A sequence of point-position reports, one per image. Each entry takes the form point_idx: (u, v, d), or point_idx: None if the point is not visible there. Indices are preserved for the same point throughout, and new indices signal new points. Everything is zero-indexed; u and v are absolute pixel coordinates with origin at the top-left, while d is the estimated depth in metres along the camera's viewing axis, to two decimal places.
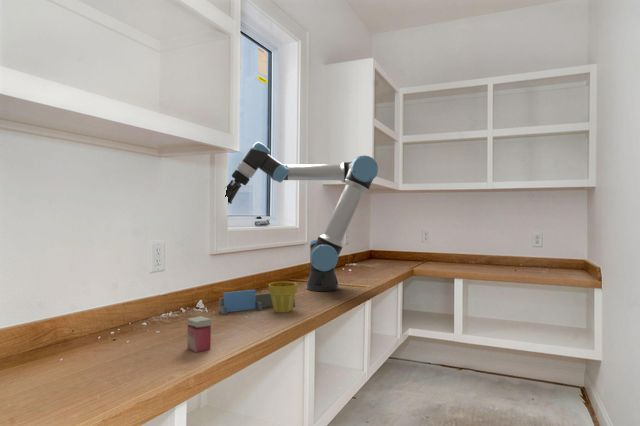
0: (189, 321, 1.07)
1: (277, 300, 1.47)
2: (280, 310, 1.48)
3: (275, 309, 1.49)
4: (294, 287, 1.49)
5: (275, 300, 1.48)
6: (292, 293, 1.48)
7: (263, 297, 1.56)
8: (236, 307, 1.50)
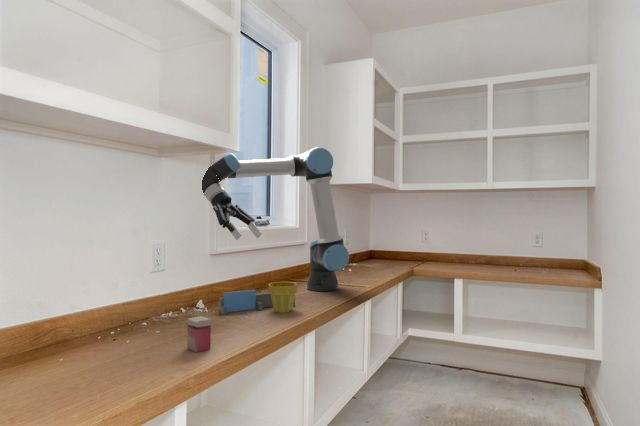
0: (189, 321, 1.07)
1: (277, 300, 1.47)
2: (280, 310, 1.48)
3: (275, 309, 1.49)
4: (294, 287, 1.49)
5: (275, 300, 1.48)
6: (292, 293, 1.48)
7: (263, 297, 1.56)
8: (236, 307, 1.50)
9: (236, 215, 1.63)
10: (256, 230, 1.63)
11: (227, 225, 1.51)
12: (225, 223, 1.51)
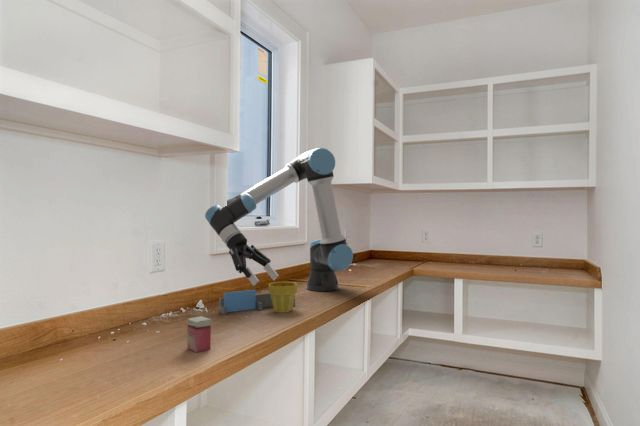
0: (189, 321, 1.07)
1: (277, 300, 1.47)
2: (280, 310, 1.48)
3: (275, 309, 1.49)
4: (294, 287, 1.49)
5: (275, 300, 1.48)
6: (292, 293, 1.48)
7: (263, 297, 1.56)
8: (236, 307, 1.50)
9: (252, 257, 1.59)
10: (272, 272, 1.59)
11: (244, 271, 1.47)
12: (242, 269, 1.47)
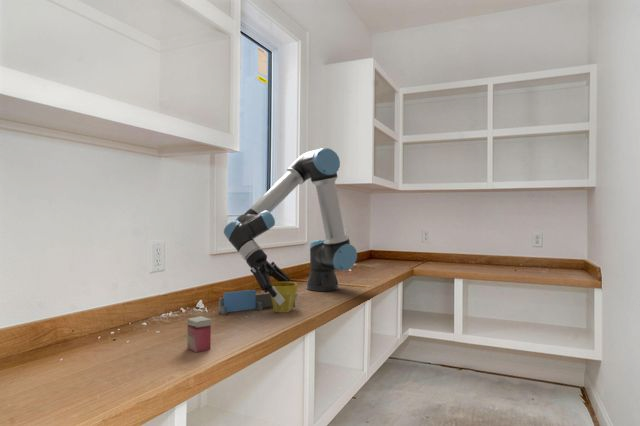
0: (189, 321, 1.07)
1: None
2: (280, 310, 1.48)
3: (275, 309, 1.49)
4: (294, 287, 1.49)
5: None
6: (292, 293, 1.48)
7: (263, 297, 1.56)
8: (236, 307, 1.50)
9: (272, 274, 1.56)
10: None
11: (269, 290, 1.45)
12: (267, 288, 1.45)
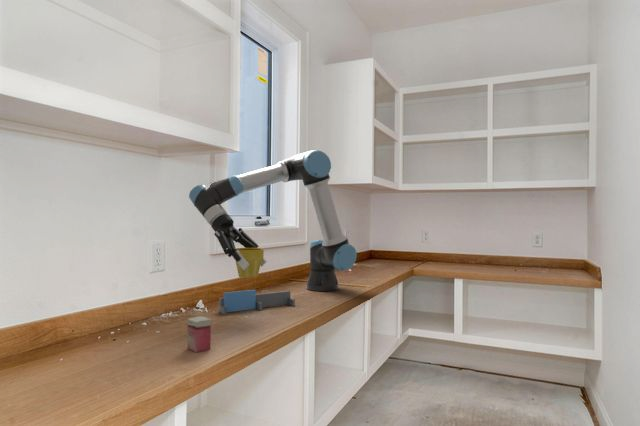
0: (189, 321, 1.07)
1: None
2: (245, 275, 1.41)
3: (240, 275, 1.42)
4: (260, 252, 1.42)
5: (239, 265, 1.41)
6: (257, 258, 1.41)
7: (263, 297, 1.56)
8: (236, 307, 1.50)
9: (238, 240, 1.49)
10: None
11: (233, 254, 1.39)
12: (231, 252, 1.38)
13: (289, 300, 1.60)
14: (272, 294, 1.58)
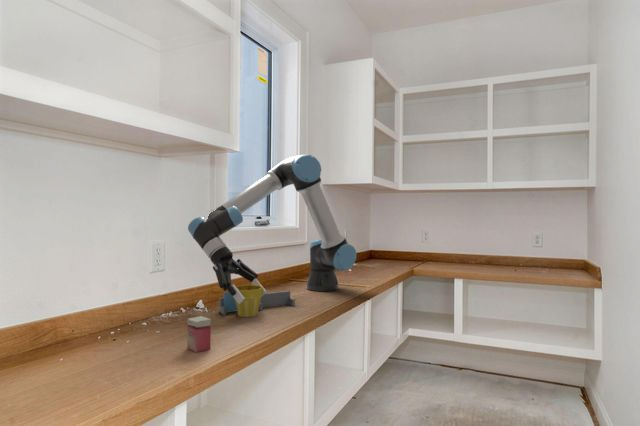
0: (189, 321, 1.07)
1: (241, 304, 1.40)
2: (244, 315, 1.41)
3: (239, 314, 1.42)
4: (259, 290, 1.42)
5: (239, 304, 1.41)
6: (257, 297, 1.41)
7: (263, 297, 1.56)
8: (236, 307, 1.50)
9: (238, 272, 1.50)
10: None
11: (228, 288, 1.37)
12: (226, 286, 1.37)
13: (289, 300, 1.60)
14: (272, 294, 1.58)
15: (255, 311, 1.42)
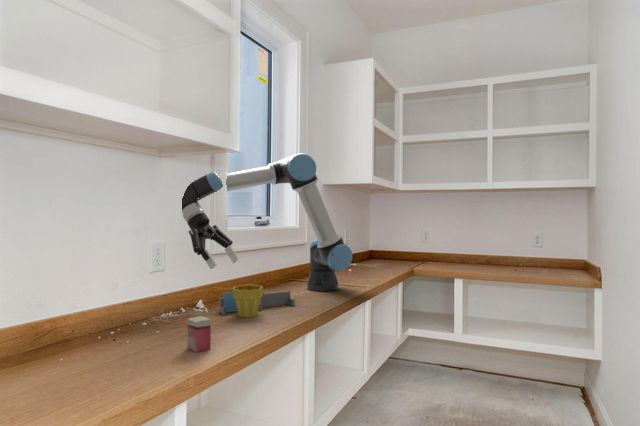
0: (189, 321, 1.07)
1: (241, 304, 1.40)
2: (244, 315, 1.41)
3: (239, 314, 1.42)
4: (259, 291, 1.42)
5: (239, 304, 1.41)
6: (257, 297, 1.41)
7: (263, 297, 1.56)
8: (236, 307, 1.50)
9: (213, 238, 1.56)
10: (233, 255, 1.57)
11: (202, 253, 1.44)
12: (200, 251, 1.44)
13: (289, 300, 1.60)
14: (272, 294, 1.58)
15: (255, 311, 1.42)
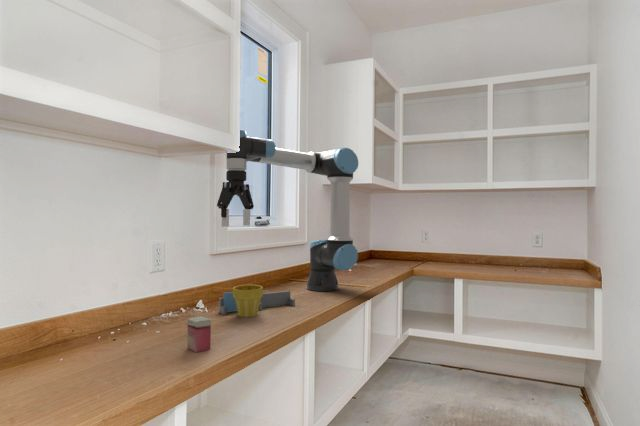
0: (189, 321, 1.07)
1: (241, 304, 1.40)
2: (244, 315, 1.41)
3: (239, 314, 1.42)
4: (259, 291, 1.42)
5: (239, 304, 1.41)
6: (257, 297, 1.41)
7: (263, 297, 1.56)
8: (236, 307, 1.50)
9: (240, 195, 1.61)
10: (247, 219, 1.63)
11: (222, 210, 1.50)
12: (222, 207, 1.50)
13: (289, 300, 1.60)
14: (272, 294, 1.58)
15: (255, 311, 1.42)
